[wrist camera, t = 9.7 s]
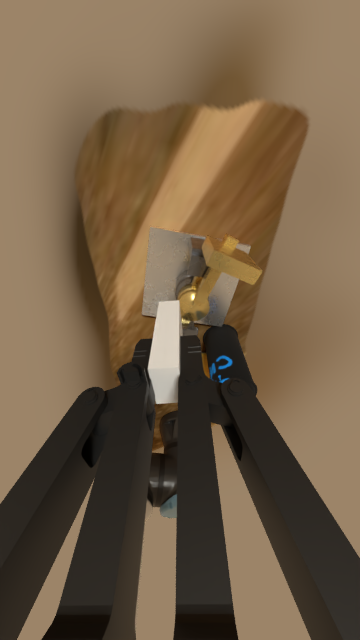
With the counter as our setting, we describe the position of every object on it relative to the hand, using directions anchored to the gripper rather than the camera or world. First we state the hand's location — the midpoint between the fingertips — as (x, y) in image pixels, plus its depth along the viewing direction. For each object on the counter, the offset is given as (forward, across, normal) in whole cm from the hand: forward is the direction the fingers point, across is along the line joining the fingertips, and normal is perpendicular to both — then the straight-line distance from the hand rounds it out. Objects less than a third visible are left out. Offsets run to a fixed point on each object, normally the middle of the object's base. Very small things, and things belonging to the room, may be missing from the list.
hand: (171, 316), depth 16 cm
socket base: (+27, +2, -9) cm, 28 cm away
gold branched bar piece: (+20, +3, -6) cm, 21 cm away
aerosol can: (+27, +8, -24) cm, 37 cm away
